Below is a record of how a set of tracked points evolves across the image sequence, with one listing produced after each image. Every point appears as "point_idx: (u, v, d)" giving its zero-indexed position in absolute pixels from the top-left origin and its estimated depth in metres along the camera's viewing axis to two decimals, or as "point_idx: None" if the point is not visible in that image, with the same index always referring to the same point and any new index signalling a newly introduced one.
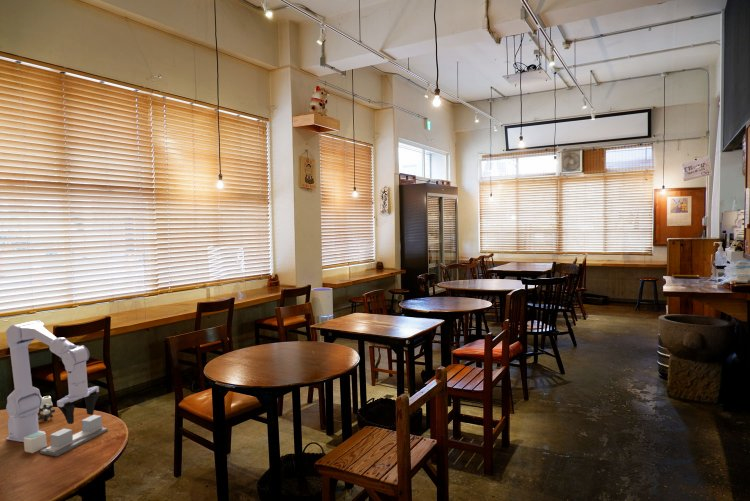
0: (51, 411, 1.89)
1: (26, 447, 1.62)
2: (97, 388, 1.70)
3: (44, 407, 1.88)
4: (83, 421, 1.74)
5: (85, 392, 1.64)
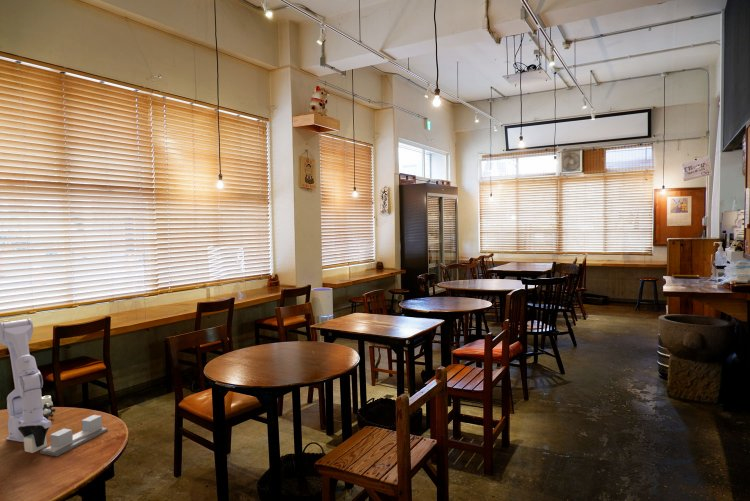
0: (52, 410, 1.90)
1: (26, 446, 1.62)
2: (44, 424, 1.61)
3: (45, 406, 1.89)
4: (83, 421, 1.74)
5: (26, 421, 1.61)
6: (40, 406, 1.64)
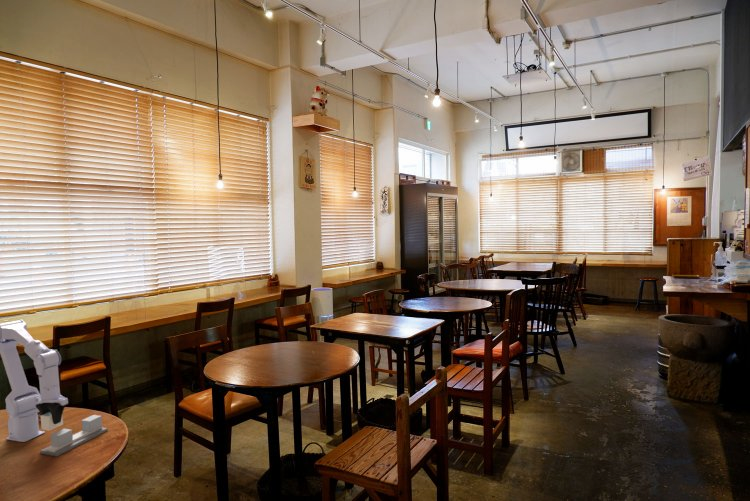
0: None
1: (43, 424, 1.64)
2: (61, 401, 1.63)
3: None
4: (83, 421, 1.74)
5: (43, 399, 1.63)
6: (58, 383, 1.66)
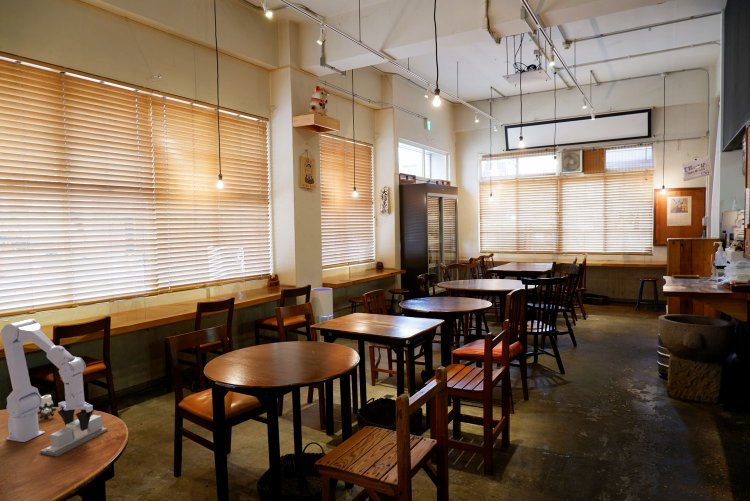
0: (52, 410, 1.91)
1: None
2: (86, 408, 1.66)
3: (45, 406, 1.90)
4: None
5: (68, 405, 1.67)
6: (83, 389, 1.71)
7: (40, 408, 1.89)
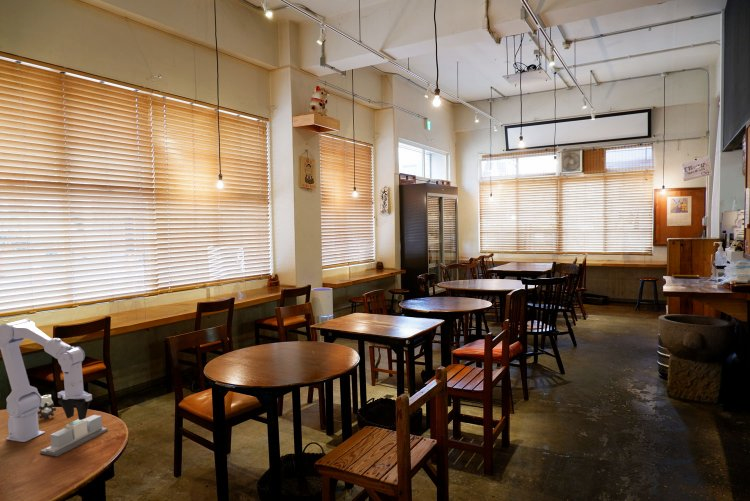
0: (52, 409, 1.91)
1: None
2: (85, 397, 1.66)
3: (45, 405, 1.90)
4: None
5: (68, 395, 1.66)
6: (82, 379, 1.70)
7: (40, 408, 1.89)
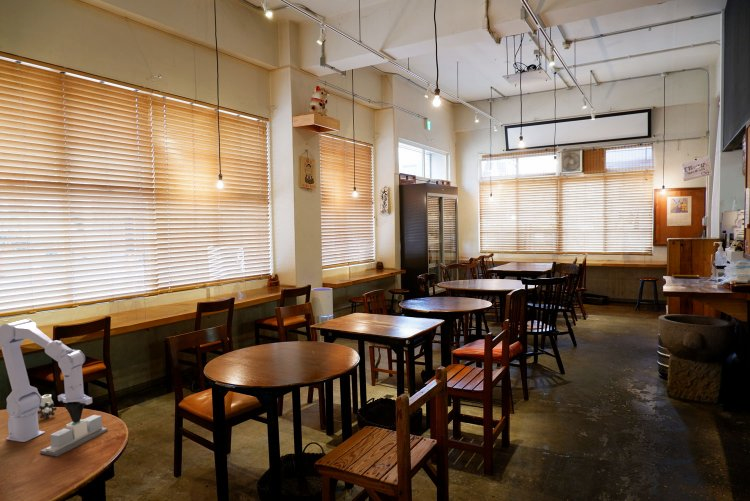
0: (53, 409, 1.92)
1: None
2: (85, 400, 1.66)
3: (46, 405, 1.90)
4: None
5: (68, 398, 1.66)
6: (82, 382, 1.70)
7: (41, 407, 1.89)
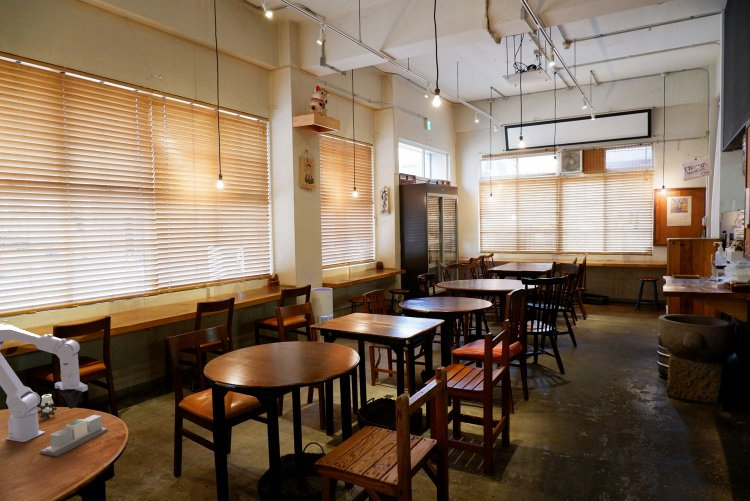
0: (53, 409, 1.92)
1: None
2: (81, 387, 1.73)
3: (46, 405, 1.90)
4: None
5: (64, 385, 1.73)
6: None
7: (41, 407, 1.89)
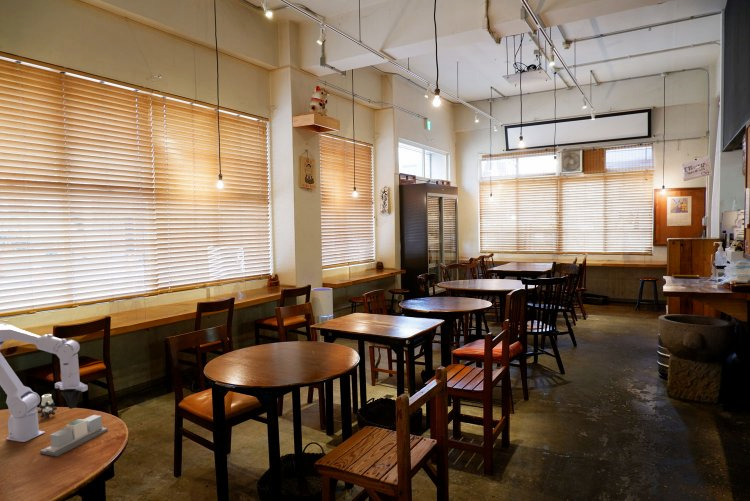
0: (53, 408, 1.92)
1: None
2: (81, 387, 1.73)
3: (46, 404, 1.91)
4: None
5: (64, 385, 1.73)
6: None
7: (41, 407, 1.90)
